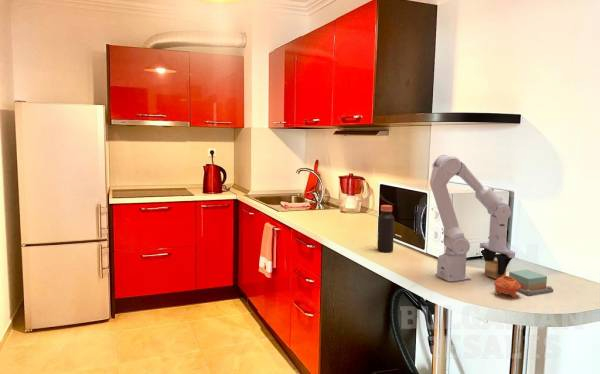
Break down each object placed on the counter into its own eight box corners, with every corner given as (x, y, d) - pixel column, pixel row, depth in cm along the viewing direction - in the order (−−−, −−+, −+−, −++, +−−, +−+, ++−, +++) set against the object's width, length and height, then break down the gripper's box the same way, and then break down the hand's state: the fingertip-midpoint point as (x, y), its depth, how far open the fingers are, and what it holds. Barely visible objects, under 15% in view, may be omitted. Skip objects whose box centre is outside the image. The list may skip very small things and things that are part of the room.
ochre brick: (494, 278, 161) (495, 265, 161) (484, 274, 166) (485, 261, 165) (505, 277, 163) (506, 263, 163) (495, 273, 168) (496, 259, 167)
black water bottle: (380, 248, 204) (381, 204, 202) (395, 250, 201) (396, 205, 198) (374, 251, 199) (376, 206, 196) (389, 253, 195) (391, 207, 193)
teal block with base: (528, 296, 146) (529, 281, 145) (501, 285, 156) (502, 271, 156) (553, 291, 150) (554, 277, 149) (525, 281, 160) (526, 267, 160)
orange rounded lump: (495, 287, 153) (501, 269, 151) (519, 298, 148) (526, 280, 146) (487, 293, 147) (493, 274, 145) (511, 304, 142) (519, 285, 140)
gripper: (522, 238, 158) (519, 276, 159) (491, 230, 171) (488, 265, 173) (507, 240, 155) (504, 279, 157) (476, 231, 168) (474, 267, 170)
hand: (495, 272), depth 165 cm, fingers closed on ochre brick, 5 cm apart
